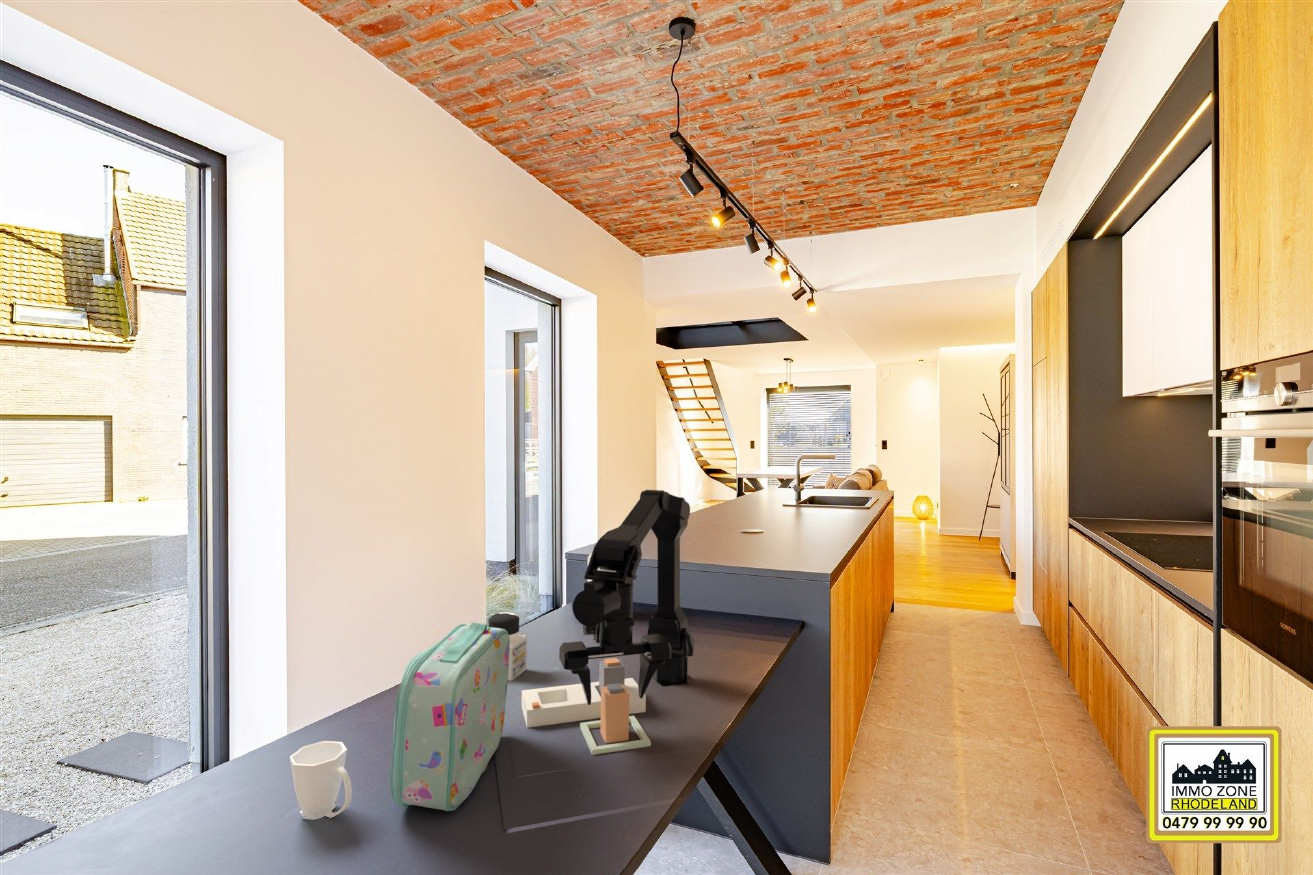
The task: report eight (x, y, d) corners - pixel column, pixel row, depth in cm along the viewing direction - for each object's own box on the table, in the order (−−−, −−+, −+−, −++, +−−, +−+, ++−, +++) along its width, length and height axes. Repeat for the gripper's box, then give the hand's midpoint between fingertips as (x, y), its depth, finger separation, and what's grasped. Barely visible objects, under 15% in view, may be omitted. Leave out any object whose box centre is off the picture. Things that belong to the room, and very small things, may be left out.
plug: (622, 729, 108) (623, 680, 108) (628, 740, 104) (629, 689, 104) (600, 732, 107) (601, 683, 107) (605, 743, 103) (606, 692, 103)
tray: (633, 722, 112) (634, 715, 112) (650, 748, 102) (650, 741, 102) (579, 729, 109) (580, 722, 109) (592, 757, 99) (592, 750, 99)
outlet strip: (632, 695, 124) (632, 674, 124) (645, 714, 115) (645, 692, 115) (521, 708, 117) (521, 687, 117) (526, 730, 108) (527, 706, 108)
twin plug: (618, 699, 120) (619, 655, 120) (624, 708, 117) (624, 662, 117) (598, 702, 119) (599, 657, 119) (603, 710, 115) (604, 665, 115)
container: (512, 682, 129) (512, 621, 129) (478, 679, 131) (479, 618, 131) (526, 669, 137) (527, 611, 137) (494, 666, 138) (495, 608, 138)
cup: (325, 791, 89) (326, 735, 89) (372, 811, 84) (373, 752, 84) (276, 817, 83) (277, 757, 83) (324, 840, 78) (325, 777, 78)
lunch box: (454, 730, 108) (455, 608, 108) (511, 731, 108) (513, 610, 108) (381, 825, 81) (383, 663, 81) (458, 827, 81) (460, 665, 81)
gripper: (653, 595, 116) (652, 677, 116) (554, 602, 110) (553, 688, 110) (673, 610, 106) (671, 701, 106) (565, 619, 100) (564, 715, 100)
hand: (615, 700), depth 106 cm, fingers open, 9 cm apart
